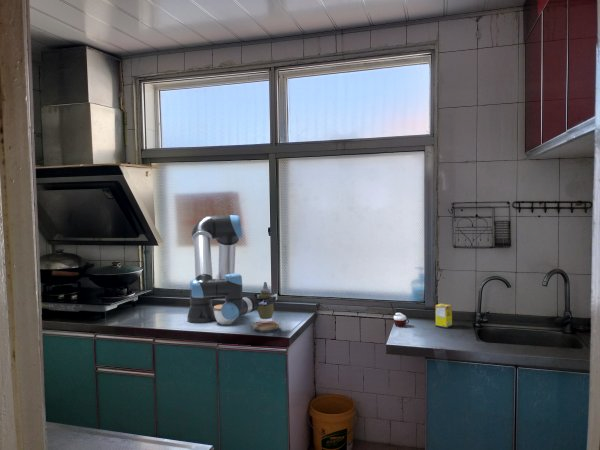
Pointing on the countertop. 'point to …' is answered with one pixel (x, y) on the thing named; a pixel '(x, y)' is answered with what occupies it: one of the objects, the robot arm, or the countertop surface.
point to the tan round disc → (266, 326)
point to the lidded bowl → (219, 315)
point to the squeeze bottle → (268, 310)
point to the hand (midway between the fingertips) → (270, 296)
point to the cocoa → (399, 319)
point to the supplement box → (443, 315)
